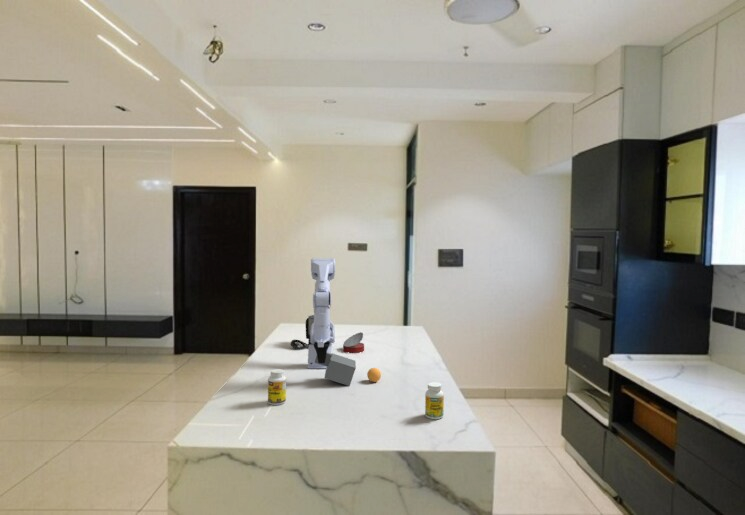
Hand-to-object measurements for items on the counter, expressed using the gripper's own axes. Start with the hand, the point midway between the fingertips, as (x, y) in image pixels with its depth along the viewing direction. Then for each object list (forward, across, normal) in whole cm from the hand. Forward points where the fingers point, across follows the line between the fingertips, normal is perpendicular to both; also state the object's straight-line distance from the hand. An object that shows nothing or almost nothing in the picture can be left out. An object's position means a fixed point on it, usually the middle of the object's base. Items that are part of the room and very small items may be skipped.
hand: (321, 362), depth 162 cm
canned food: (+7, +45, -12) cm, 47 cm away
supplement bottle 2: (+8, -32, -35) cm, 48 cm away
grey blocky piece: (+5, 0, -3) cm, 6 cm away
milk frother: (+7, +51, +9) cm, 52 cm away
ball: (+5, 0, -19) cm, 20 cm away
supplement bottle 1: (+8, -20, +13) cm, 25 cm away
